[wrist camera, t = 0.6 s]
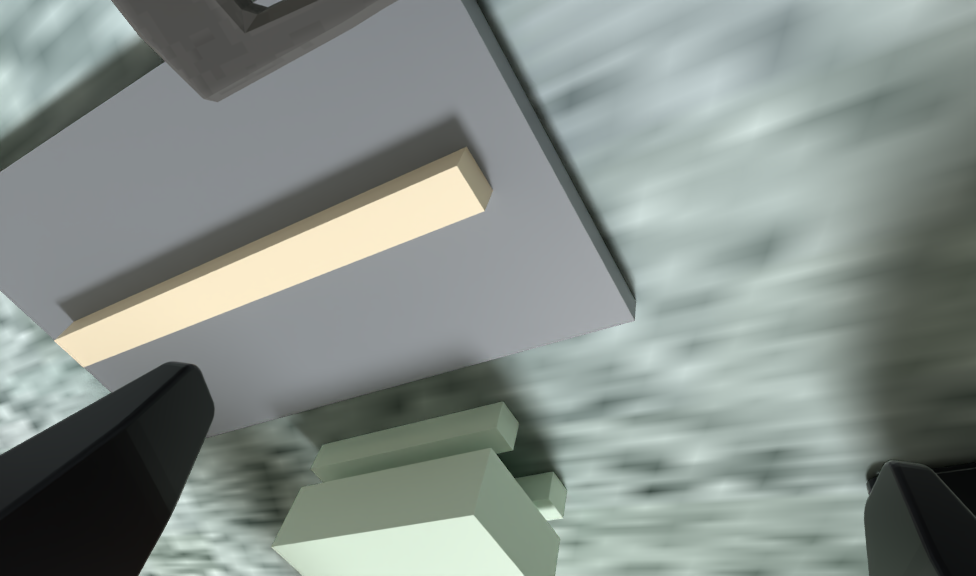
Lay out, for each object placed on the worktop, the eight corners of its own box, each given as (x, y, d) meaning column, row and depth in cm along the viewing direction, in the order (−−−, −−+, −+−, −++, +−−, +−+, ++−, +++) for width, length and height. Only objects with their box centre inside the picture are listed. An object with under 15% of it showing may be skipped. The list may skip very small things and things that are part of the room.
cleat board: (635, 301, 24) (632, 344, 22) (182, 432, 35) (157, 467, 33) (418, -108, 17) (390, -91, 16) (-55, 208, 28) (-101, 238, 27)
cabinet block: (567, 489, 31) (550, 606, 27) (380, 520, 36) (341, 624, 32) (503, 400, 28) (473, 515, 24) (310, 446, 33) (257, 549, 29)
